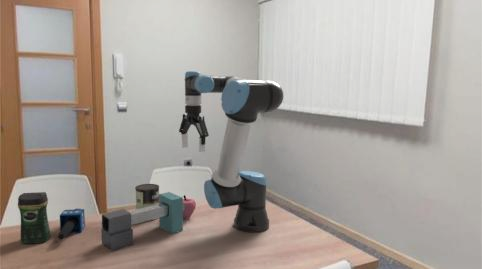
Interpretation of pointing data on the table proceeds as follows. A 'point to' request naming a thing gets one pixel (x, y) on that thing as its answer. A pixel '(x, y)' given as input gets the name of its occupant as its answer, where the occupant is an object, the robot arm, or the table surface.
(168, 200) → the socket block
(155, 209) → the slip tube
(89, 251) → the table surface
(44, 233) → the coffee jar
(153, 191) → the coffee can
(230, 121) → the robot arm
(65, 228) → the microphone
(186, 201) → the apple
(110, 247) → the stand
